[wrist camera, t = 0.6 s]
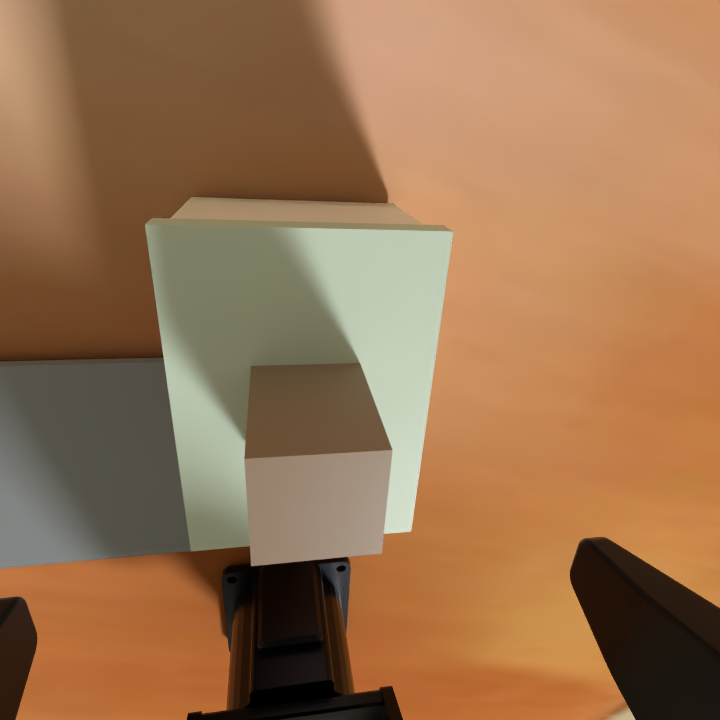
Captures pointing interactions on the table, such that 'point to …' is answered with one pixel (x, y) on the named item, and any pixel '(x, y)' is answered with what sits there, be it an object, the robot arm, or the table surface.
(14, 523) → the mat
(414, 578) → the table surface
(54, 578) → the table surface
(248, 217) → the caddy
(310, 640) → the robot arm
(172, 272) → the lid
